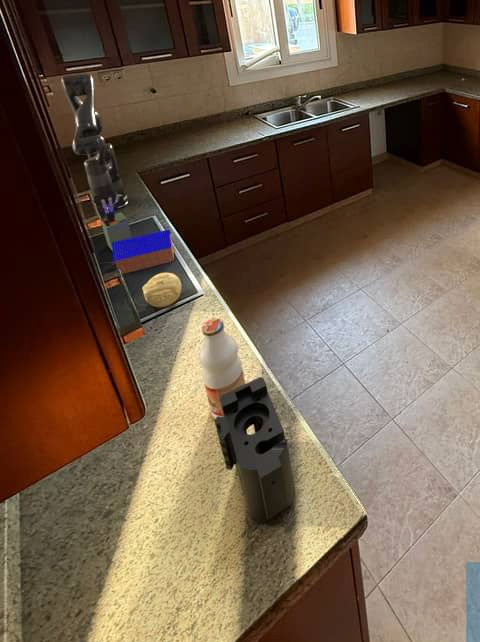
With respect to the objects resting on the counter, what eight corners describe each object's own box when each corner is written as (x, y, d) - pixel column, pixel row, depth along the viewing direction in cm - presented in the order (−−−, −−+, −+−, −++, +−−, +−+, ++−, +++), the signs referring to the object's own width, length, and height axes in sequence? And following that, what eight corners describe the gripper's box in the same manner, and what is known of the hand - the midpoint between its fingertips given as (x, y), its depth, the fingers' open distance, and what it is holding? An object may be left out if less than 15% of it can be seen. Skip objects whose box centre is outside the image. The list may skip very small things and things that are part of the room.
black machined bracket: (272, 435, 108) (261, 370, 99) (303, 514, 91) (293, 445, 83) (223, 462, 101) (207, 396, 93) (247, 552, 85) (230, 481, 77)
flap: (111, 216, 184) (110, 215, 184) (121, 213, 186) (121, 212, 186) (116, 222, 179) (116, 221, 179) (127, 219, 181) (127, 218, 181)
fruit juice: (241, 422, 111) (224, 340, 100) (205, 422, 111) (184, 340, 100) (253, 390, 119) (238, 311, 109) (219, 390, 120) (201, 311, 109)
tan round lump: (146, 316, 146) (139, 291, 142) (149, 294, 156) (142, 270, 152) (183, 306, 151) (177, 281, 147) (184, 286, 161) (178, 262, 157)
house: (174, 260, 175) (169, 236, 171) (118, 275, 167) (110, 250, 162) (174, 246, 185) (168, 222, 181) (120, 259, 177) (113, 235, 172)
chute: (108, 245, 186) (100, 220, 181) (128, 238, 191) (121, 213, 187) (113, 253, 181) (106, 227, 176) (134, 245, 186) (127, 220, 182)
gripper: (116, 174, 181) (125, 210, 187) (78, 185, 172) (90, 222, 178) (121, 180, 176) (131, 216, 183) (83, 190, 167) (95, 229, 174)
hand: (111, 219), depth 180 cm, fingers closed
